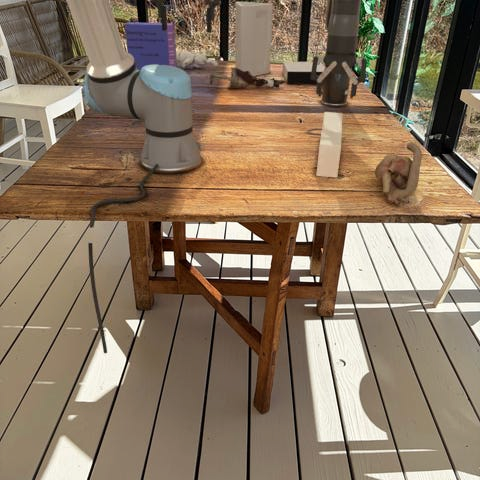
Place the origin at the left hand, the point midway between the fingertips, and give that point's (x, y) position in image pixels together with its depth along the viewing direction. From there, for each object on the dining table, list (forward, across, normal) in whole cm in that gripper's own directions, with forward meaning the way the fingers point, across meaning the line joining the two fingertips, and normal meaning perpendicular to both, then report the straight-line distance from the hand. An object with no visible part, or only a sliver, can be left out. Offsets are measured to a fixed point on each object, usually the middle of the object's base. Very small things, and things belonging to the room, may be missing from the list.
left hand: (186, 31), depth 141 cm
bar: (+27, -45, +23) cm, 57 cm away
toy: (+25, +22, -80) cm, 86 cm away
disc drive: (+25, -34, -69) cm, 81 cm away
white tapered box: (+25, -10, -76) cm, 81 cm away
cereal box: (+26, +23, -36) cm, 50 cm away
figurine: (+26, -12, -47) cm, 54 cm away
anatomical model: (+27, -59, +44) cm, 79 cm away
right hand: (+13, -45, +14) cm, 49 cm away
